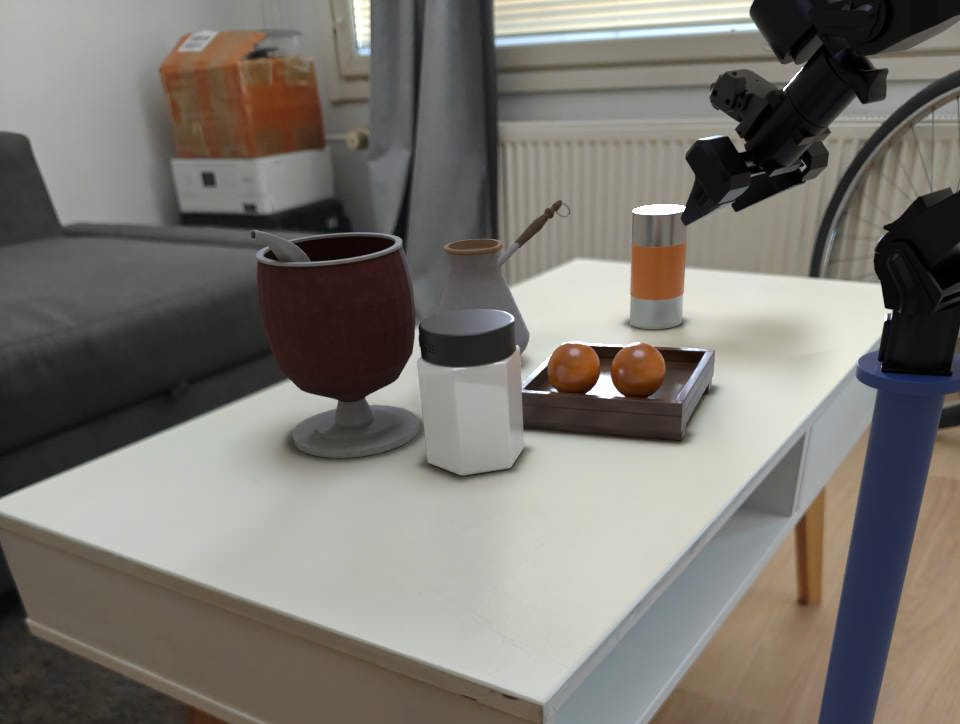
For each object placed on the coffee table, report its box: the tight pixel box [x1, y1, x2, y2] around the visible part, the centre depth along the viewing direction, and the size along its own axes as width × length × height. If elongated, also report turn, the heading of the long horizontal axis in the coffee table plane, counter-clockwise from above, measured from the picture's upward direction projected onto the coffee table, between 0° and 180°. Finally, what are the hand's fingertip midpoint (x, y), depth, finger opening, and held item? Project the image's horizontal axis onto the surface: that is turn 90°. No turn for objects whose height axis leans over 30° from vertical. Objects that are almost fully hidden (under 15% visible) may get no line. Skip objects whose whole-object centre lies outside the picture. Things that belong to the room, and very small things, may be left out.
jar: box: [416, 309, 525, 477], centre depth 80 cm, size 9×8×12 cm
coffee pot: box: [436, 199, 571, 356], centre depth 105 cm, size 21×12×15 cm, turn 137°
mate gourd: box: [249, 229, 420, 459], centre depth 84 cm, size 16×14×20 cm
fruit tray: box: [521, 340, 716, 441], centre depth 89 cm, size 16×16×8 cm
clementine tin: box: [629, 204, 688, 330], centre depth 112 cm, size 6×6×13 cm
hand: (709, 215), depth 104 cm, fingers open, 9 cm apart
